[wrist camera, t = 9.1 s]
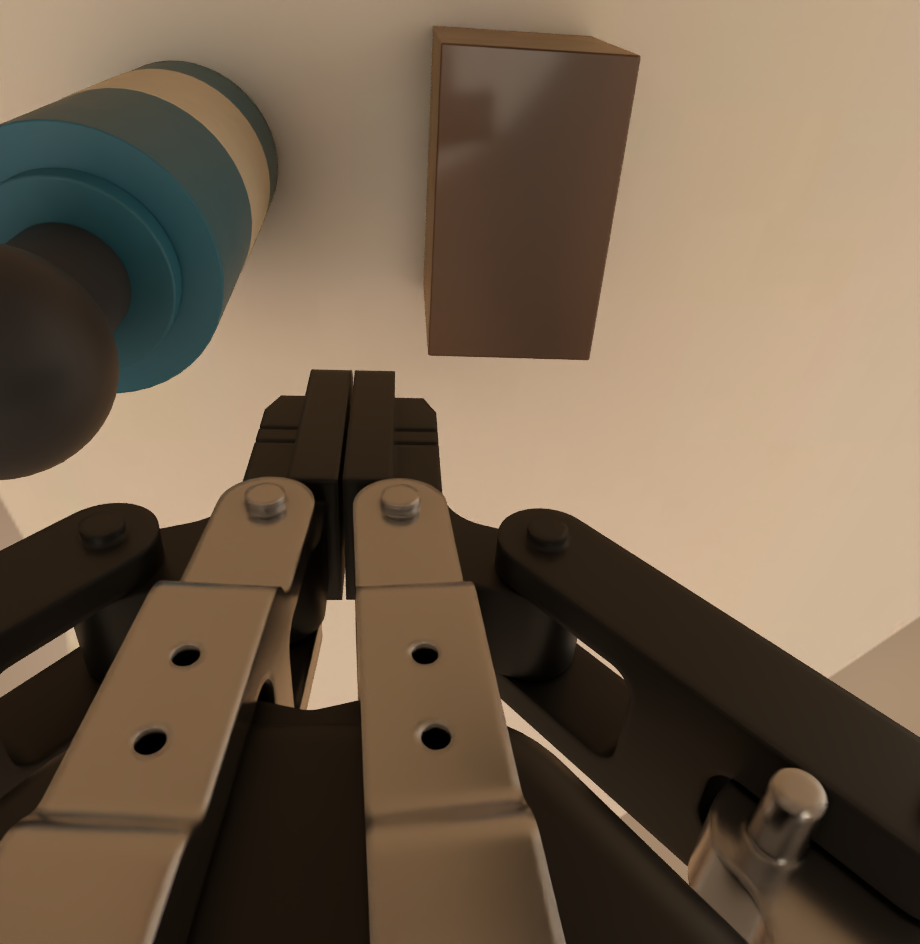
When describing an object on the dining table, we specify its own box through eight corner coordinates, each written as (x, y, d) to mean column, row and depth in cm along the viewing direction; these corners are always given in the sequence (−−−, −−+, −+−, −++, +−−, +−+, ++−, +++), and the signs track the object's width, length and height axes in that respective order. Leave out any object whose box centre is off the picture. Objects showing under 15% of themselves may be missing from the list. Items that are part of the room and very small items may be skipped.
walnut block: (423, 287, 33) (427, 356, 28) (432, 25, 28) (440, 42, 22) (557, 292, 34) (589, 360, 28) (592, 36, 28) (641, 55, 23)
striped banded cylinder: (196, 222, 34) (-364, 329, 21) (183, 51, 31) (-509, 42, 17) (513, 336, 27) (-24, 614, 13) (546, 130, 23) (-147, 224, 10)
